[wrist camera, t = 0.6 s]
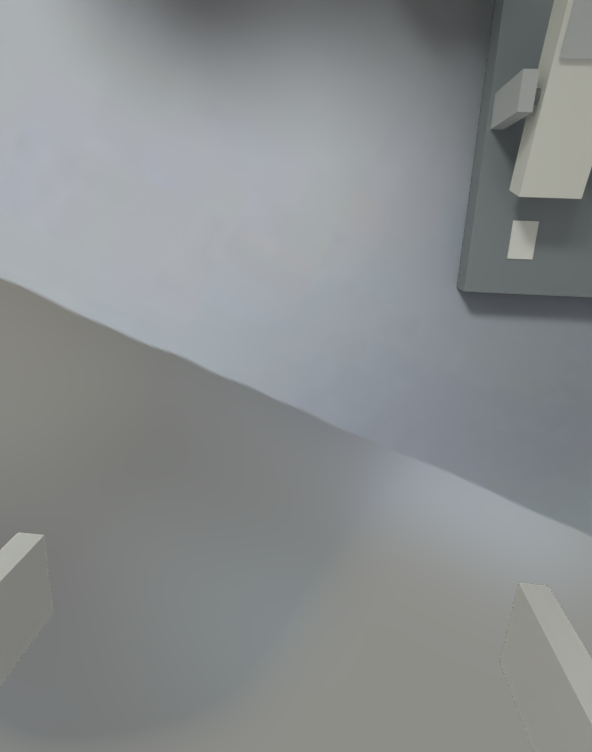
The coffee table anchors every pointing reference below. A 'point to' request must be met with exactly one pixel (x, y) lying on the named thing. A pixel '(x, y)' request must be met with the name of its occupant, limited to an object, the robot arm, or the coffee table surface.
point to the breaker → (560, 110)
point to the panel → (495, 170)
